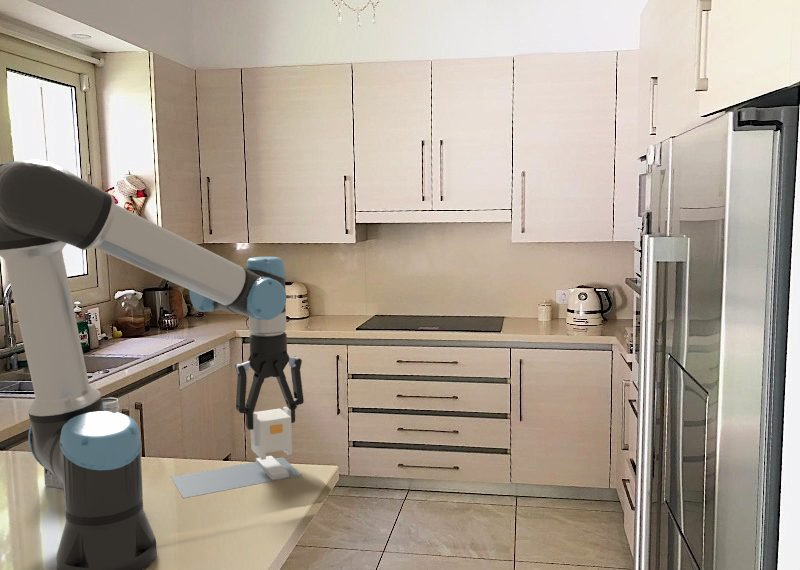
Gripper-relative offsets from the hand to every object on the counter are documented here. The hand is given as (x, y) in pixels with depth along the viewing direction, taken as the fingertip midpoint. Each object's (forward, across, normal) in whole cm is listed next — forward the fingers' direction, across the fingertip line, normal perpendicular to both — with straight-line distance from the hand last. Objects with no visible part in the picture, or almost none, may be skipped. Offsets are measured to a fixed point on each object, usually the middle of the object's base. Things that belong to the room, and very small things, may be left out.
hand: (271, 440), depth 156 cm
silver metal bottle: (+8, +31, -3) cm, 32 cm away
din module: (+2, 0, 0) cm, 2 cm away
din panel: (+8, +8, 0) cm, 11 cm away
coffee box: (+8, +37, -18) cm, 42 cm away
